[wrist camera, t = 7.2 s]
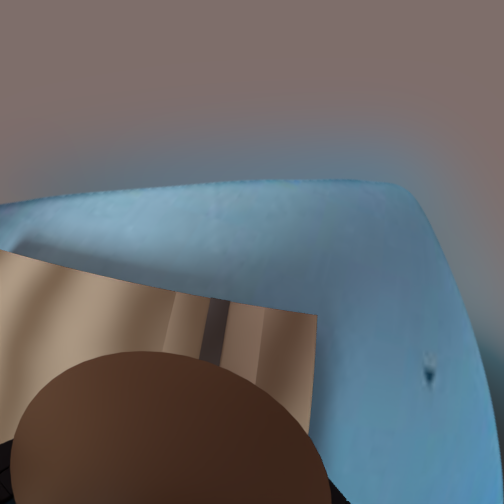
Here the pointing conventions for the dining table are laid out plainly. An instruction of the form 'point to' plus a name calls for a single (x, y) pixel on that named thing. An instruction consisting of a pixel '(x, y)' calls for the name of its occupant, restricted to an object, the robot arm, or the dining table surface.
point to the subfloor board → (139, 333)
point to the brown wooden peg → (161, 438)
